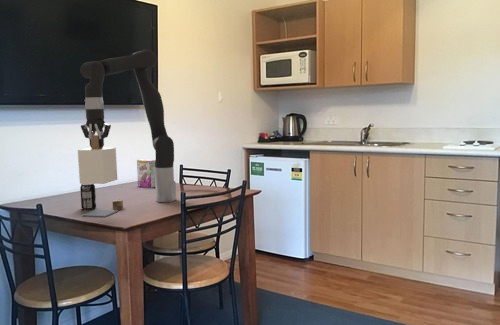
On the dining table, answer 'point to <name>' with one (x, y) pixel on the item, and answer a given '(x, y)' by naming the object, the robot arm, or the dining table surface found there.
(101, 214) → the mat
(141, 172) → the candy bar box
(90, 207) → the beverage can
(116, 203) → the walnut block
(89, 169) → the cover
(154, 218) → the dining table surface
